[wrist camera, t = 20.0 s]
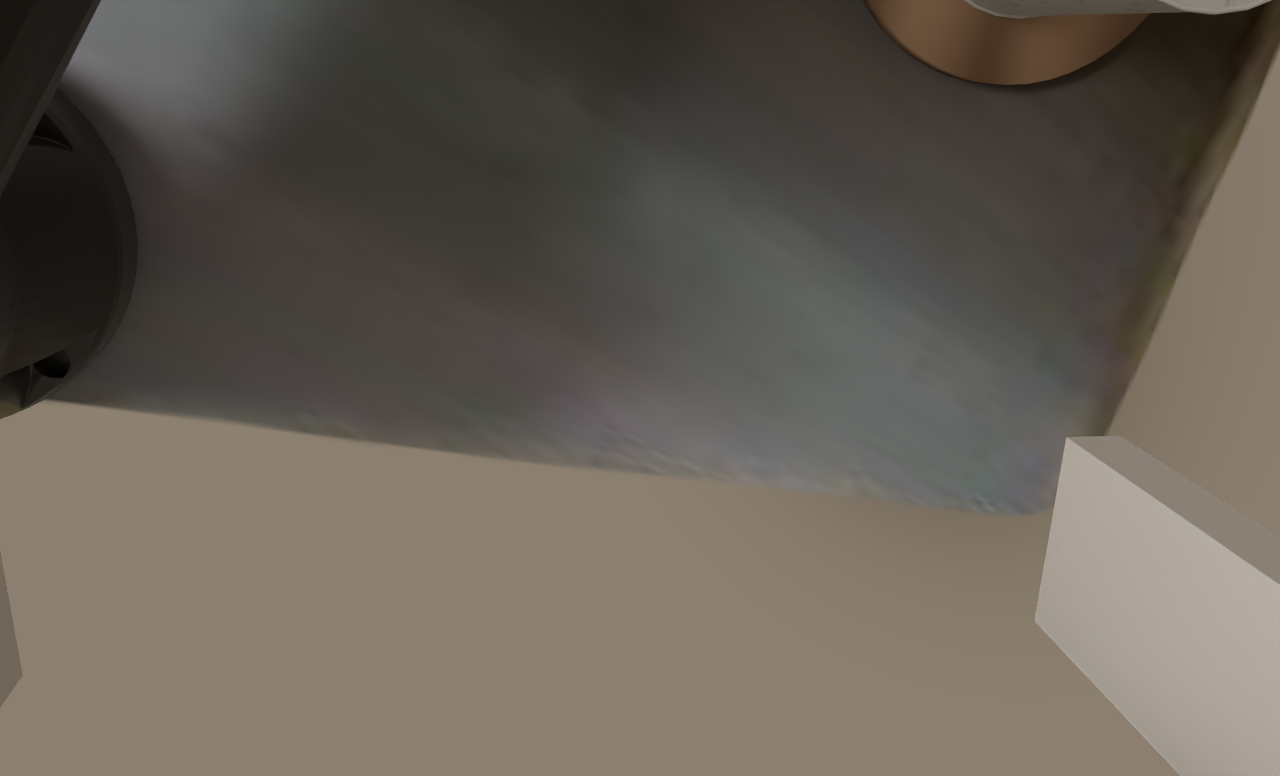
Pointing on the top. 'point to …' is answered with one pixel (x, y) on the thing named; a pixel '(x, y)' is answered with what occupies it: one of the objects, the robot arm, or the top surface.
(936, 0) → the walnut board
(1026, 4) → the white speckled cylinder
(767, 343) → the top surface
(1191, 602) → the robot arm
